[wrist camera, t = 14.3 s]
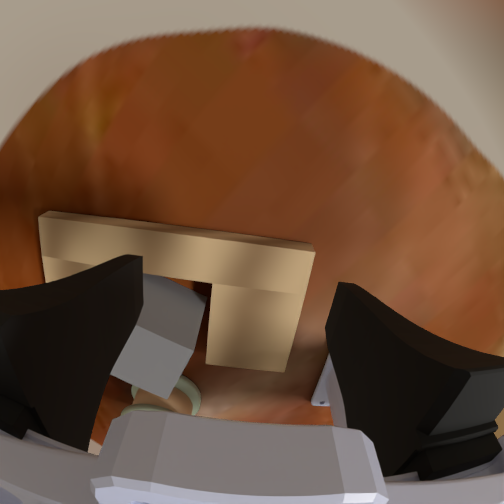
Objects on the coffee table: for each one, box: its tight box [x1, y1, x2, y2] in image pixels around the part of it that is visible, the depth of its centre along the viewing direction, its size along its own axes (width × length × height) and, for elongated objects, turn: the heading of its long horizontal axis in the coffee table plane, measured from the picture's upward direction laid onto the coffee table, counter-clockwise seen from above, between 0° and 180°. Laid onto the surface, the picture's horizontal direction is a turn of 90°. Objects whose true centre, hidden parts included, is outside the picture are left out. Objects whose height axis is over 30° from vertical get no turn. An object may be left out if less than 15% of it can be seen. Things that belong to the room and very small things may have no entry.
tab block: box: [110, 273, 207, 399], centre depth 20 cm, size 5×5×6 cm
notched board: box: [38, 211, 315, 372], centre depth 21 cm, size 19×10×2 cm, turn 82°
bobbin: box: [120, 374, 201, 416], centre depth 24 cm, size 6×6×5 cm
